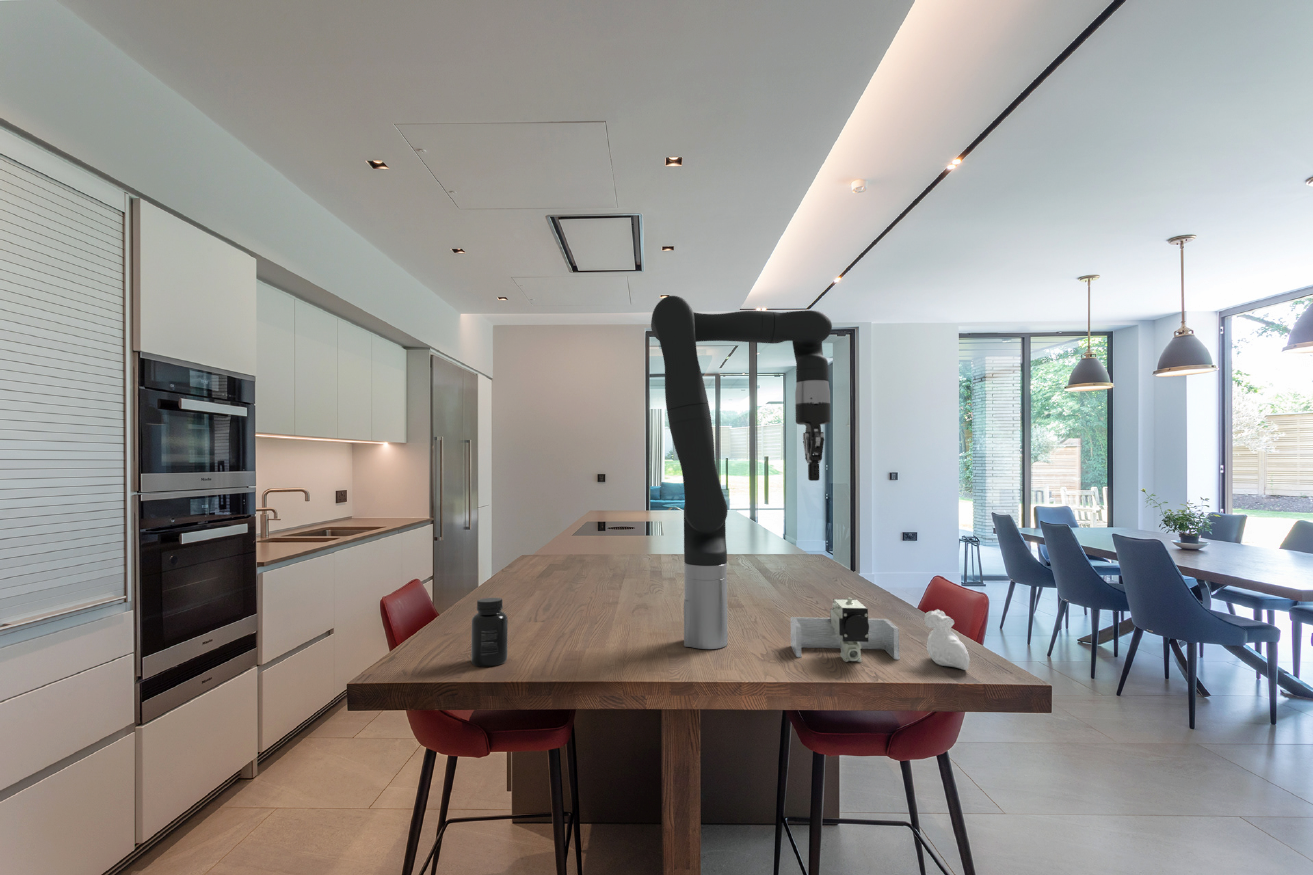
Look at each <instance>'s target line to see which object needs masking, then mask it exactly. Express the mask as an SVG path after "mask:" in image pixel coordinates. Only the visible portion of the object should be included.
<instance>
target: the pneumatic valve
mask: <svg viewBox="0 0 1313 875" xmlns="http://www.w3.org/2000/svg"><path fill="white" fill-rule="evenodd" d="M831 604H832V605H831V607H832V608H830V610H829V614H830V617H829V618H830V624H831V625H832V626H833V627H834V630H835V631H836V633H837V634H838V635H839V636H840V638H841V639H842V640H840V644H841V648H840V653H839V656H840V657H841V659H842V660H843V661H844V662H846V663H847V662H857V663H861V662H862V661H863V660H862V659H863V658H862V657H861V655H862V654H861V653H862V651H861V647H862V646H861V645H860V644H859V643H858V642H868V631H869V623H868V618H869V609H868V608H867V607H866V606H864V604H862V602H860V601H859V600H858V599H856V598H852V597H847V598H832V603H831Z"/></svg>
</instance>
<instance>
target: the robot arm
mask: <svg viewBox="0 0 1313 875" xmlns="http://www.w3.org/2000/svg"><path fill="white" fill-rule="evenodd" d="M832 328H833V324H832V320H831V319H830V317H829V316H828V315H827V314H825V313H824V312H822V311H819V310H811V309H808V310H807V309H806V310H794V311H786V312H783V311H782V312H777V311H770V310H769V311H766V310H765V311H764V310H741V311H740V310H739V311H734V312H725V313H700V312H695V311H694V310H693V308H692V306H691V305H690V303H689V302H688V301H687V300H686V299H684V298H683V297H680V296H678V295H669V296H668V295H667V296H665V297H664V298H662V299H660V301H659V302H658V303H657V304H656V305H655V307H654V309H653V312H652V315H651V322H650V329H651V332H652V334H653V336H654V338H656V339H657V341H659V344H660V349H661V352H662V353H661V354H662V358H663V363H664V395H665V396H664V397H665V406H666V414H667V419H668V425H669V430H670V434H671V435H670V436H671V439H672V442H673V446H674V449H675V452H676V455H677V458H678V461H679V465H680V468H681V474H682V483H683V491H684V492H683V494H684V505H683V556H684V558H683V562H684V564H683V565H684V566H683V567H684V569H683V570H684V574H683V576H684V582H683V583H684V584H683V586H684V587H683V588H684V601H683V647H689V648H692V649H693V648H694V649H700V650H716V649H722V648H724V647H726V646H727V645H728V550H727V540H726V539H727V538H726V532H727V531H726V527H727V526H726V520H727V517H728V505H727V500H726V499H725V496H724V492H723V490H722V486H721V482H720V478H719V475H718V474H719V473H718V469H717V465H716V457H715V443H714V442H715V441H714V440H715V439H714V430H713V423H712V416H711V412H710V411H711V410H710V404H709V400H708V394H707V390H706V387H705V382H704V377H703V374H702V370H701V366H700V362H699V358H698V350H697V342H737V343H738V342H741V343H743V342H744V343H756V344H757V343H758V344H782V343H783V342H787V341H788V342H791V343H792V348H793V353H794V354H793V356H794V359H795V363H796V364H795V365H796V367H795V371H796V372H795V378H796V379H795V380H796V381H795V382H796V384H795V392H794V394H795V396H794V398H795V403H794V405H795V407H794V408H795V423H796V425H798V426H799V425H802V426H805V432H803V433H802V440H803V441H802V443H803V448H804V450H803V451H804V457H805V459H804V460H805V461H806V464H807V479H808V481H813V482H814V481H815V482H816V481H820V464H821V461H822V460H823V452H824V451H823V450H824V445H825V444H824V443H825V435H824V431H822V426H821V425H828V424H829V423H831V390H830V384H829V362H828V359H827V357H826V356H824V352H823V342H824V341H826V340H827V338H828V337H829V336H830V334H831V332H832Z"/></svg>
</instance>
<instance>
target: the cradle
mask: <svg viewBox="0 0 1313 875" xmlns="http://www.w3.org/2000/svg"><path fill="white" fill-rule="evenodd" d="M868 623H869V631H868V642H858V643H859V644H860V645H861V646H862V647H861V649H862V650H863V649H865V650H885V652H887V653H888V655H889V656H890V657H891V658H892V659H893V660H897V661H898V660H900V659H901V658H900V629H899V627H898V626H896V625H895V624H894V623H893V622H892V621H891V620H889V619H888V618H869V617H868ZM840 640H842V639H841V638H840V636H839V635H838V634H837V633H836V631H835V630H834V627H833V626H832V625H831V624H830V617H817V616H815V617H807V616H806V617H803V616H790V647H791V649H792V650H793V653H794V655H795V657H796V658H802V648H809V649H811V648H813V649H816V648H818V649H819V648H820V649H841V644H840ZM861 649H860V650H861Z"/></svg>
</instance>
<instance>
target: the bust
mask: <svg viewBox="0 0 1313 875" xmlns="http://www.w3.org/2000/svg"><path fill="white" fill-rule="evenodd" d="M923 620H924V624H925V626H926V628H931V629H933V630H931V631H930V632H929V633H928V637H927V639H926V640H927V641H926V642H927V643H926V649H927V650H926V651H927V653H928V655H929V657H930V659H932V661H933V662H934V663H935V664H936V665H939V666H944V667H951V668H957V669H961V670H965V671H967V670H968V669H969V667H970V661H971V660H970V655H969V652H968V650H967V647H966V645H965V644H964V643H963V642H962V641H961V640H960V639H959V636H957V634H955V633H954V632H953V631H952V630H951V628H952V627H953V626H954V625H955V620H954V619H952V618H951V617H950V616H948V615H946V613H945V612H944V611H943V610H940V609H938V608H937V609H935V610H929V611H928V612H926V613H925V615H924V619H923Z"/></svg>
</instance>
